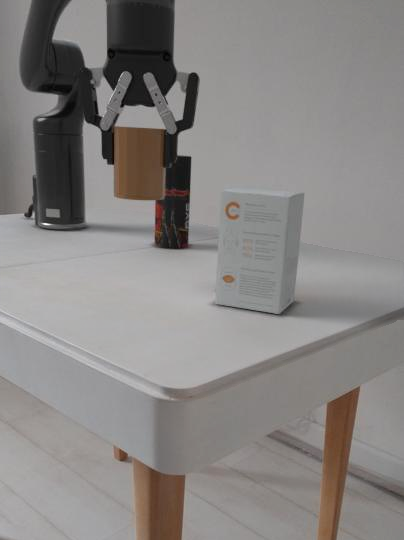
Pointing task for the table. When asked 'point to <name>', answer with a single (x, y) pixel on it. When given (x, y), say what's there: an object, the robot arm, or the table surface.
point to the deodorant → (174, 206)
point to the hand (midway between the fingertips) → (139, 165)
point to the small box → (258, 248)
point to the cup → (139, 163)
